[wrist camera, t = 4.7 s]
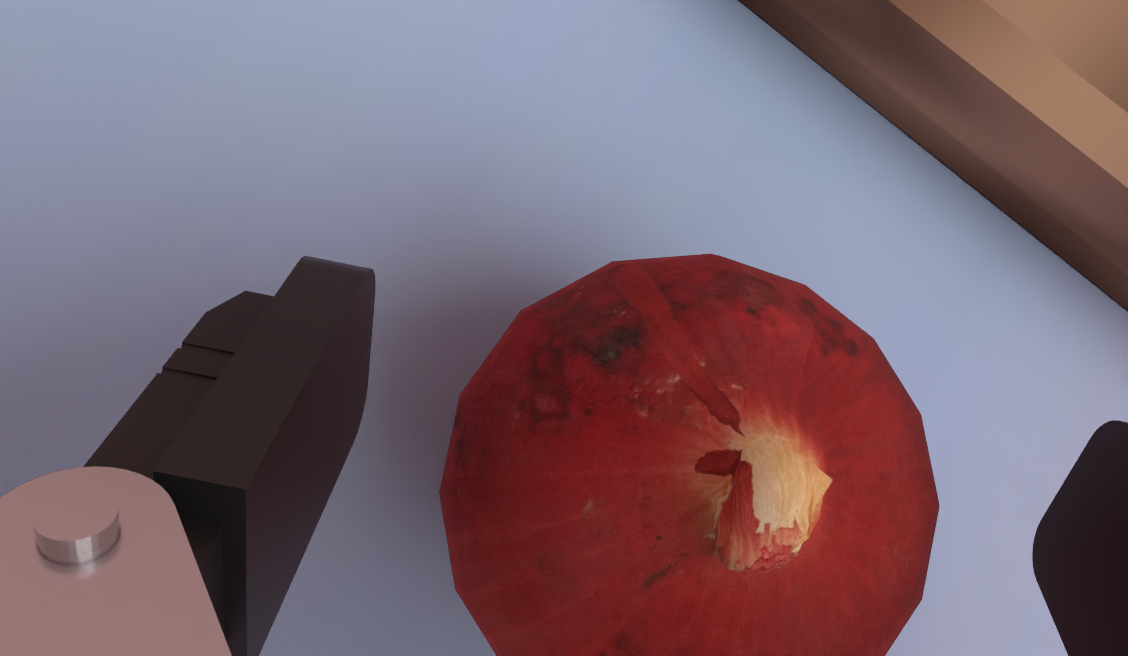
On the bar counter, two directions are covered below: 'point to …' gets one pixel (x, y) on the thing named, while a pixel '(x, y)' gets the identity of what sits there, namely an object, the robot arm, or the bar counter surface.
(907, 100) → the walnut tray
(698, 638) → the onion
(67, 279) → the bar counter surface
